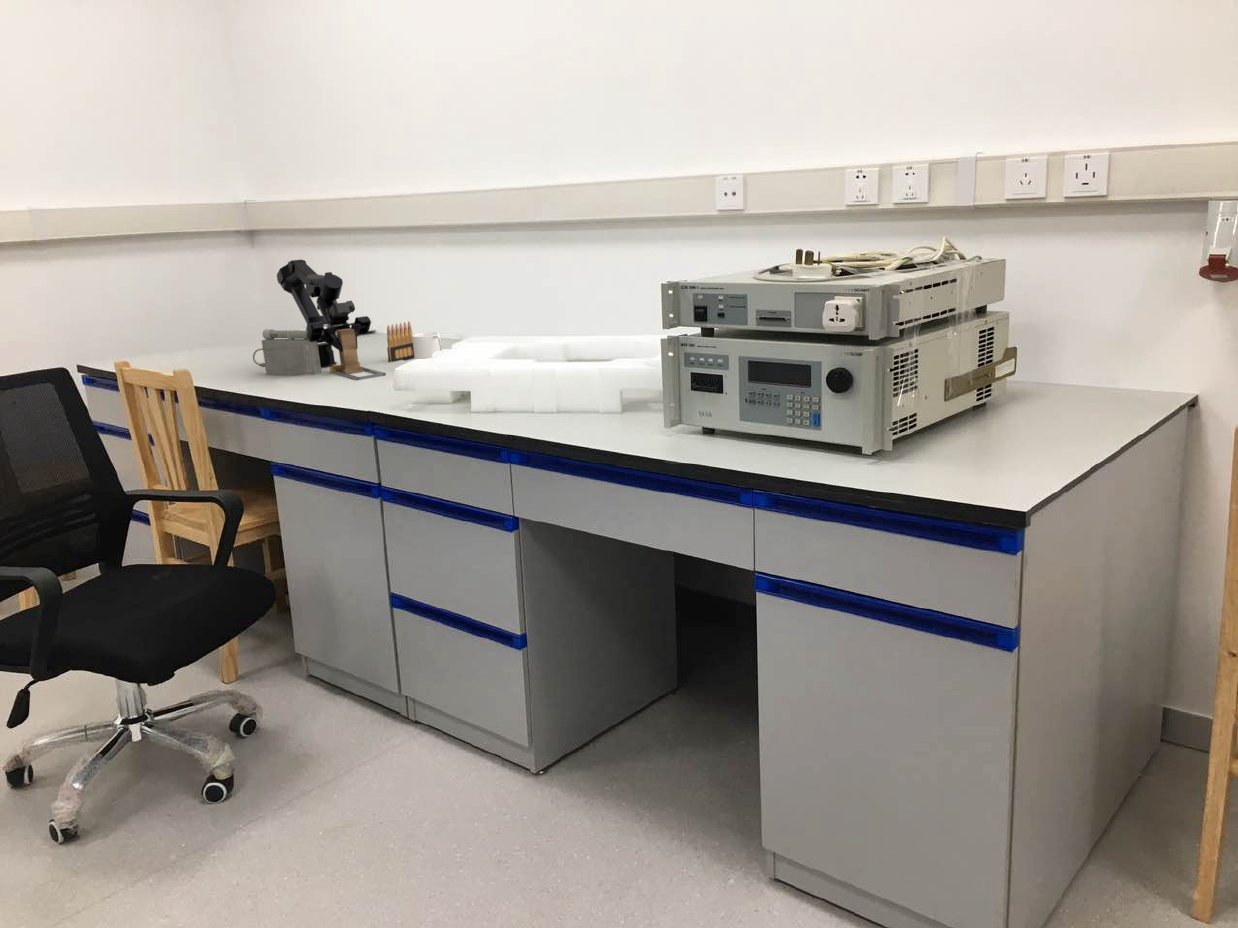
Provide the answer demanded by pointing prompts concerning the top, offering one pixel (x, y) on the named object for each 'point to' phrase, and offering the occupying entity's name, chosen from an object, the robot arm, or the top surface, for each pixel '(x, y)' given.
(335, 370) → the track
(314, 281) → the robot arm
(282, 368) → the geiger counter
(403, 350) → the ammunition clip
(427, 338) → the cup
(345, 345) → the plate
